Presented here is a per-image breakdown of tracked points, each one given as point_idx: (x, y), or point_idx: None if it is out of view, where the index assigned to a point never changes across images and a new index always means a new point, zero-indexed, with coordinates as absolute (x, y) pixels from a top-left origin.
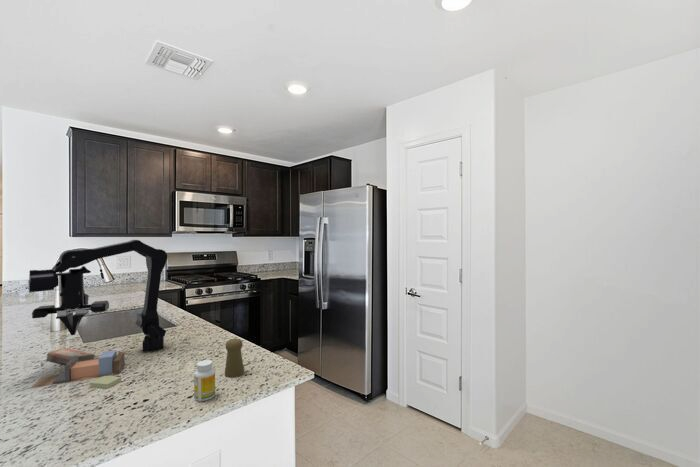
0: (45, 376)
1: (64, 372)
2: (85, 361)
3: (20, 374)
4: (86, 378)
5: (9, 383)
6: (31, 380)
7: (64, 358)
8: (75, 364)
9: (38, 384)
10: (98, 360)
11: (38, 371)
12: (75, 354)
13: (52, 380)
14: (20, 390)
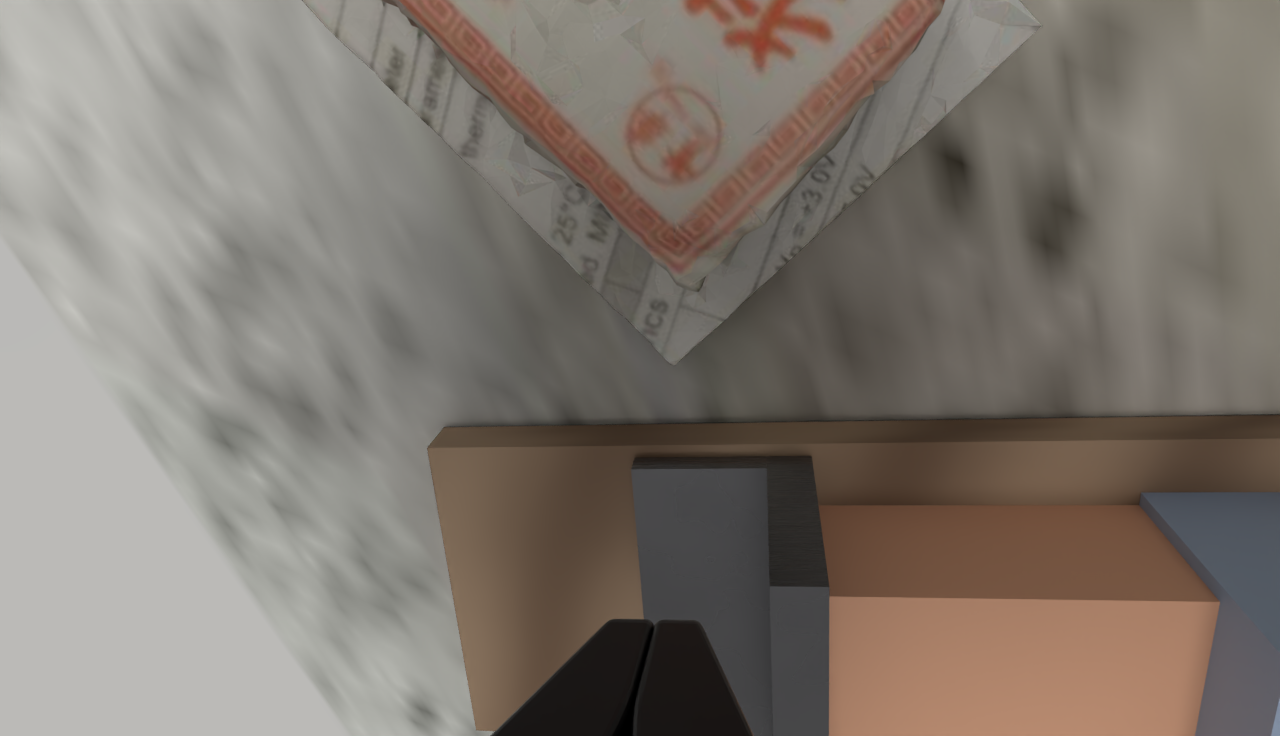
0: (463, 462)
1: (672, 519)
2: (952, 632)
3: (35, 79)
4: None
5: (121, 362)
6: (314, 371)
7: (475, 87)
8: (837, 694)
9: (510, 669)
10: (1150, 677)
11: (205, 49)
12: (627, 48)
13: None
14: (367, 608)
